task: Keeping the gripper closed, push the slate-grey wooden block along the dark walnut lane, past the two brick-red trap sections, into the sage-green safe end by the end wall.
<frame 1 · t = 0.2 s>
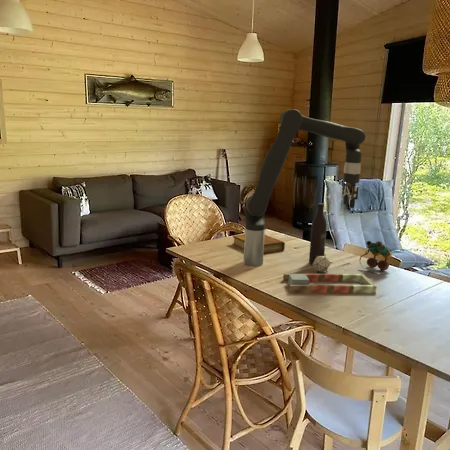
hand: (348, 206, 213), 29 cm above the table, tool pointing down, fingers open, 8 cm apart
wheeled frog toy: (376, 269, 212), on the table
slate block: (298, 286, 187), on the table
game die: (320, 272, 207), on the table
diary: (257, 248, 244), on the table
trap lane: (328, 286, 188), on the table
wine bottle: (316, 264, 218), on the table
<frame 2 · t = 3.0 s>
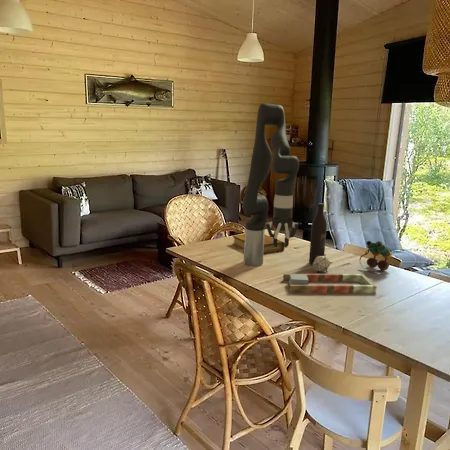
hand: (280, 246, 182), 17 cm above the table, tool pointing down, fingers open, 3 cm apart
nothing on the table moved.
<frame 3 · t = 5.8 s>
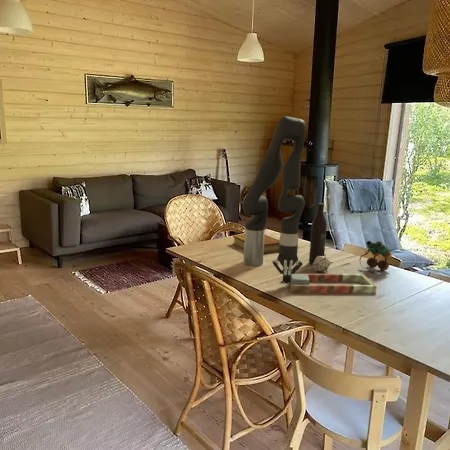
hand: (286, 282, 186), 2 cm above the table, tool pointing down, fingers closed
slate block: (299, 286, 187), on the table, touching gripper
everything else where it was.
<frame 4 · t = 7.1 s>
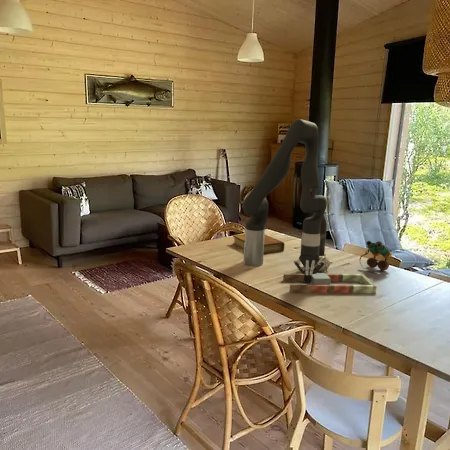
hand: (307, 283, 186), 2 cm above the table, tool pointing down, fingers closed
slate block: (319, 285, 189), on the table, touching gripper
everything else where it was.
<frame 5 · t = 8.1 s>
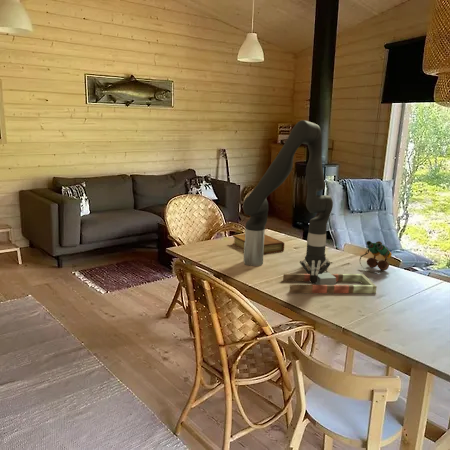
hand: (313, 283, 187), 2 cm above the table, tool pointing down, fingers closed
slate block: (324, 285, 190), on the table, touching gripper
everything else where it was.
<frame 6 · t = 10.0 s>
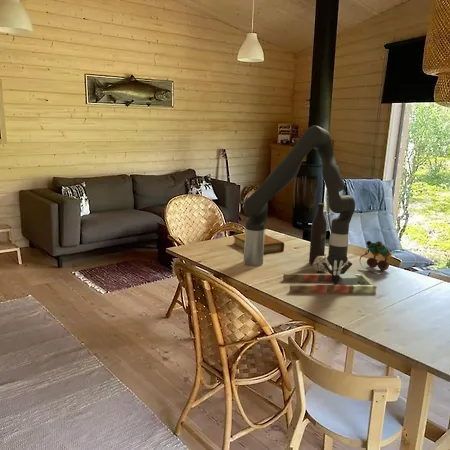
hand: (335, 283, 187), 2 cm above the table, tool pointing down, fingers closed
slate block: (345, 285, 190), on the table, touching gripper
everything else where it was.
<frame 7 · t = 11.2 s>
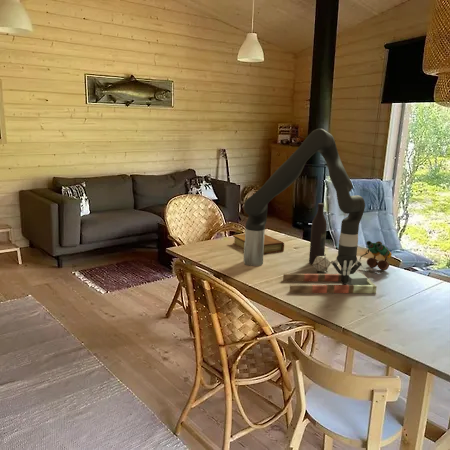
hand: (344, 282, 188), 2 cm above the table, tool pointing down, fingers closed
slate block: (354, 285, 191), on the table, touching gripper
everything else where it was.
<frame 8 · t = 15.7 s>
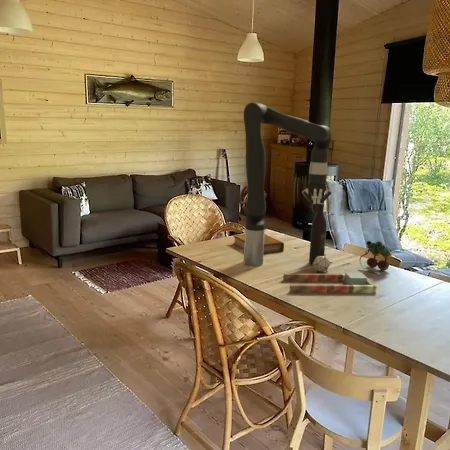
hand: (315, 212, 196), 29 cm above the table, tool pointing down, fingers closed
slate block: (354, 285, 191), on the table
everything else where it was.
at the end: slate block inside the target area (2.2 cm from its centre), on the table; slate block tilted 0° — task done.
